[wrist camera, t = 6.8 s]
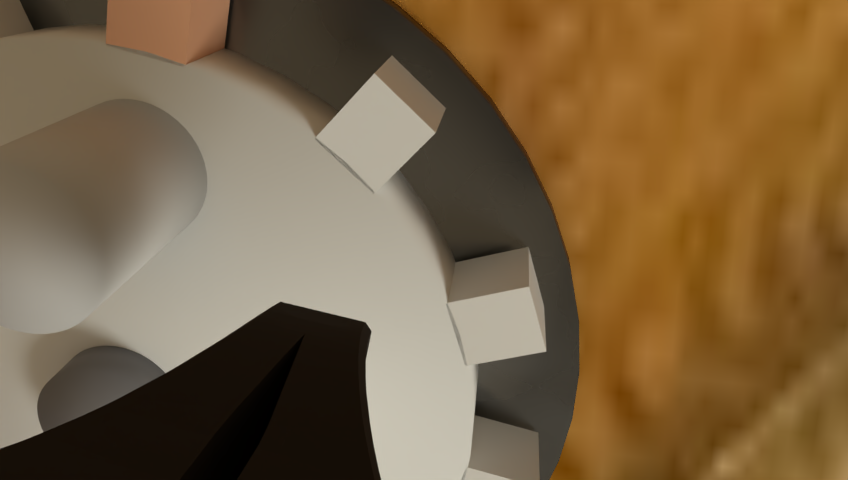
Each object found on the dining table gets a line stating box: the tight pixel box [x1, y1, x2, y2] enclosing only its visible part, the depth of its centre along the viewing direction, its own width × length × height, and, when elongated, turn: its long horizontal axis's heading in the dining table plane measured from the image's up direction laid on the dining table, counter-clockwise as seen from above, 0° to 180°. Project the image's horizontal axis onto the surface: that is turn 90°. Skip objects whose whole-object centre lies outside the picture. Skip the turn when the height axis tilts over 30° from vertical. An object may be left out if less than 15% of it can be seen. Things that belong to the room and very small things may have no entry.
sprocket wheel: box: [0, 0, 546, 480], centre depth 17 cm, size 20×20×6 cm
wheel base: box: [20, 0, 579, 480], centre depth 19 cm, size 22×24×2 cm
